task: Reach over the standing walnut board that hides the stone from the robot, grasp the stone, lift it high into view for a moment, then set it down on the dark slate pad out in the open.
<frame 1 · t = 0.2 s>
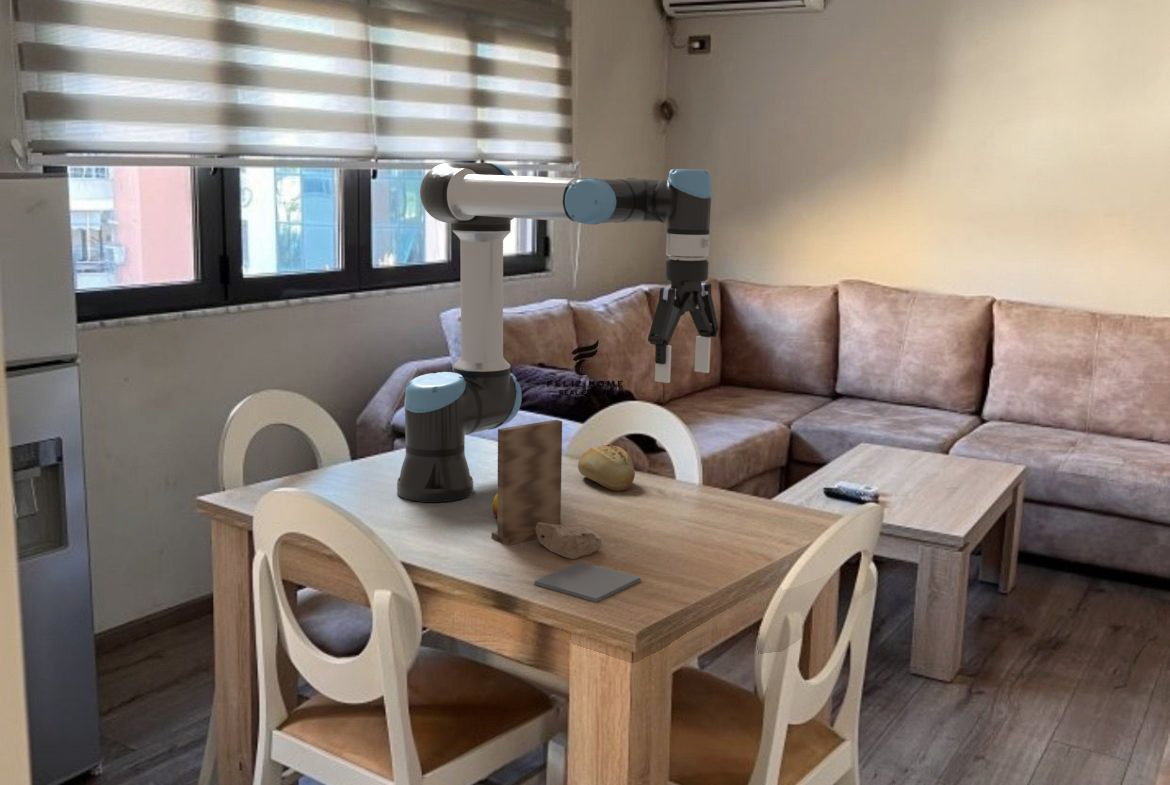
hand: (682, 376, 211), 28 cm above the table, fingers open, 13 cm apart
board: (529, 534, 209), on the table
fruit: (521, 519, 219), on the table
pad: (587, 582, 186), on the table
stone: (565, 553, 201), on the table
bread roll: (606, 484, 244), on the table
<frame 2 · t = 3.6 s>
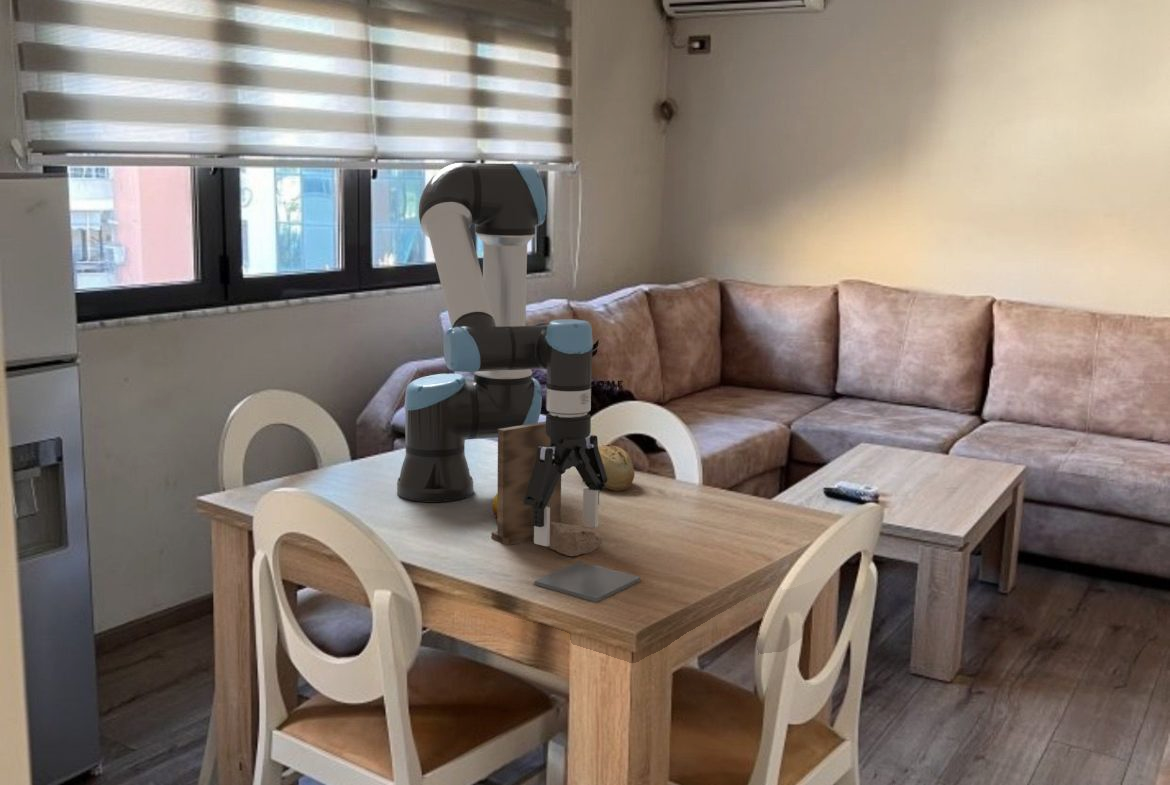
hand: (566, 535, 200), 3 cm above the table, fingers open, 13 cm apart
stone: (566, 551, 202), on the table, touching gripper
everything else where it was.
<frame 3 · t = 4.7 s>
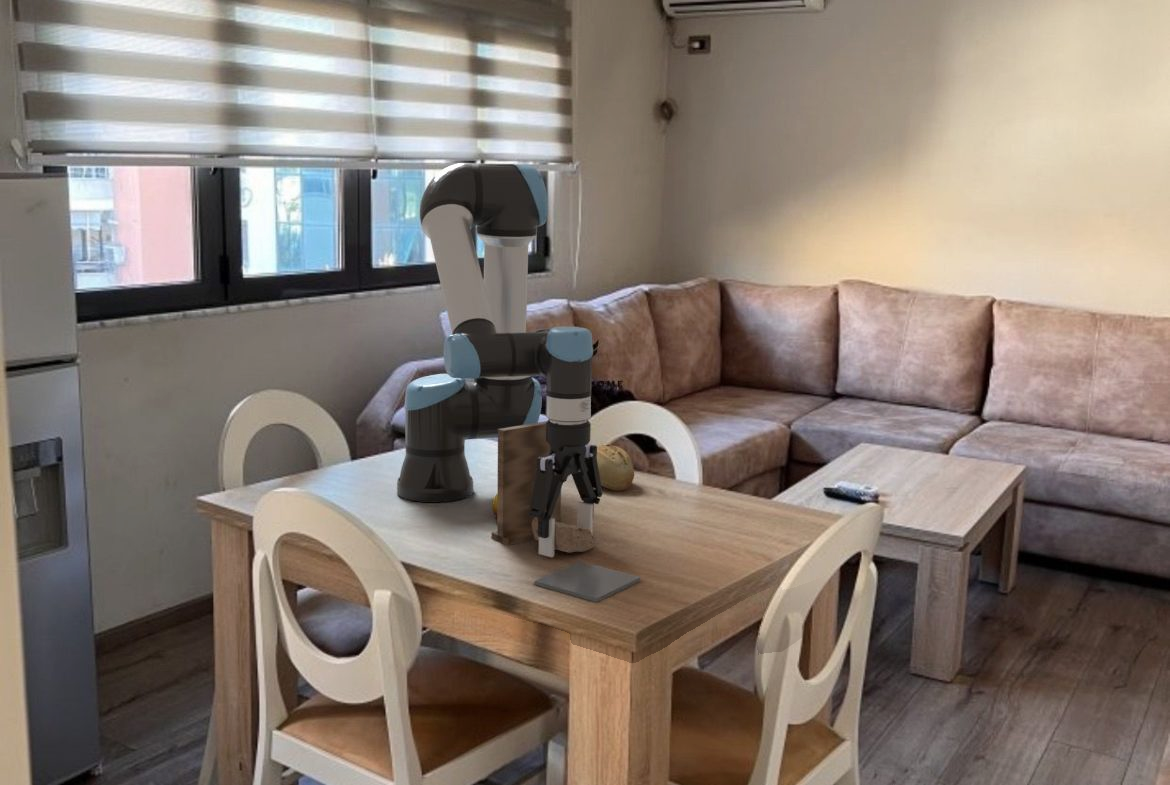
hand: (565, 547, 201), 1 cm above the table, fingers closed on stone, 10 cm apart
stone: (560, 549, 200), on the table, touching gripper
everything else where it was.
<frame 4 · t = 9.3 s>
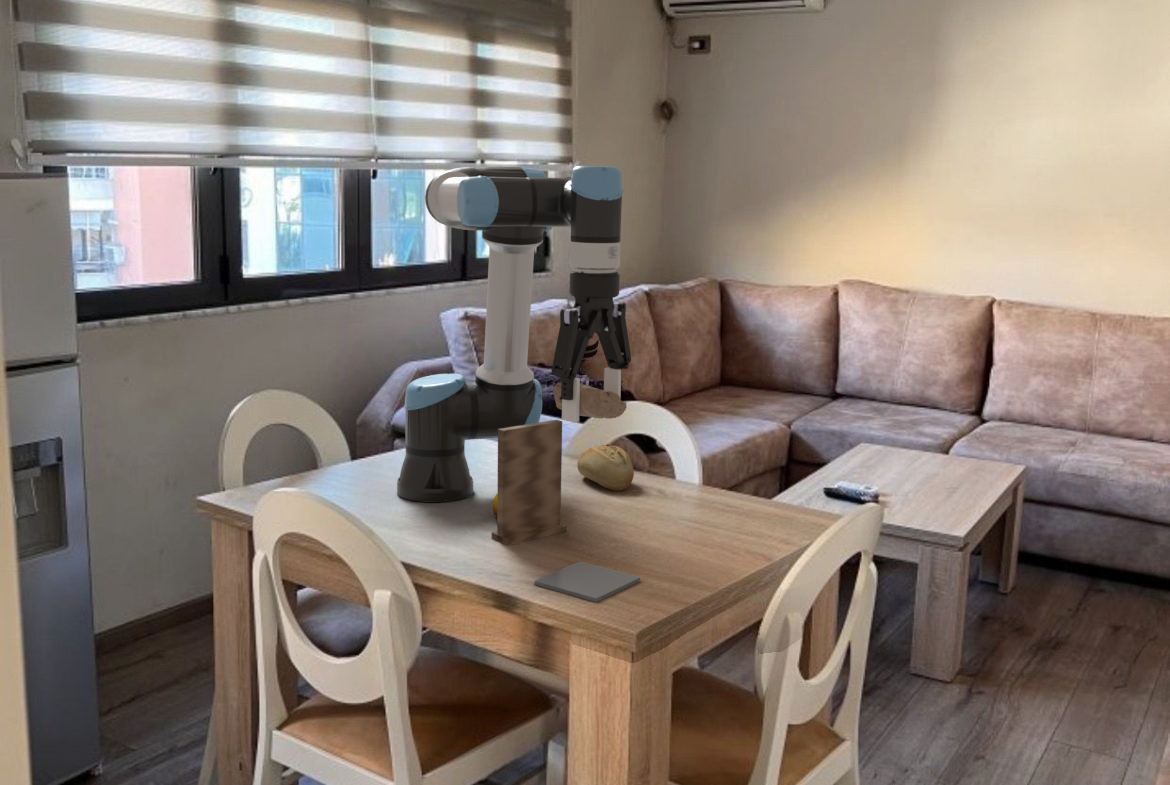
hand: (591, 414, 181), 27 cm above the table, fingers closed on stone, 10 cm apart
stone: (585, 417, 180), point 27 cm above the table, touching gripper
everything else where it was.
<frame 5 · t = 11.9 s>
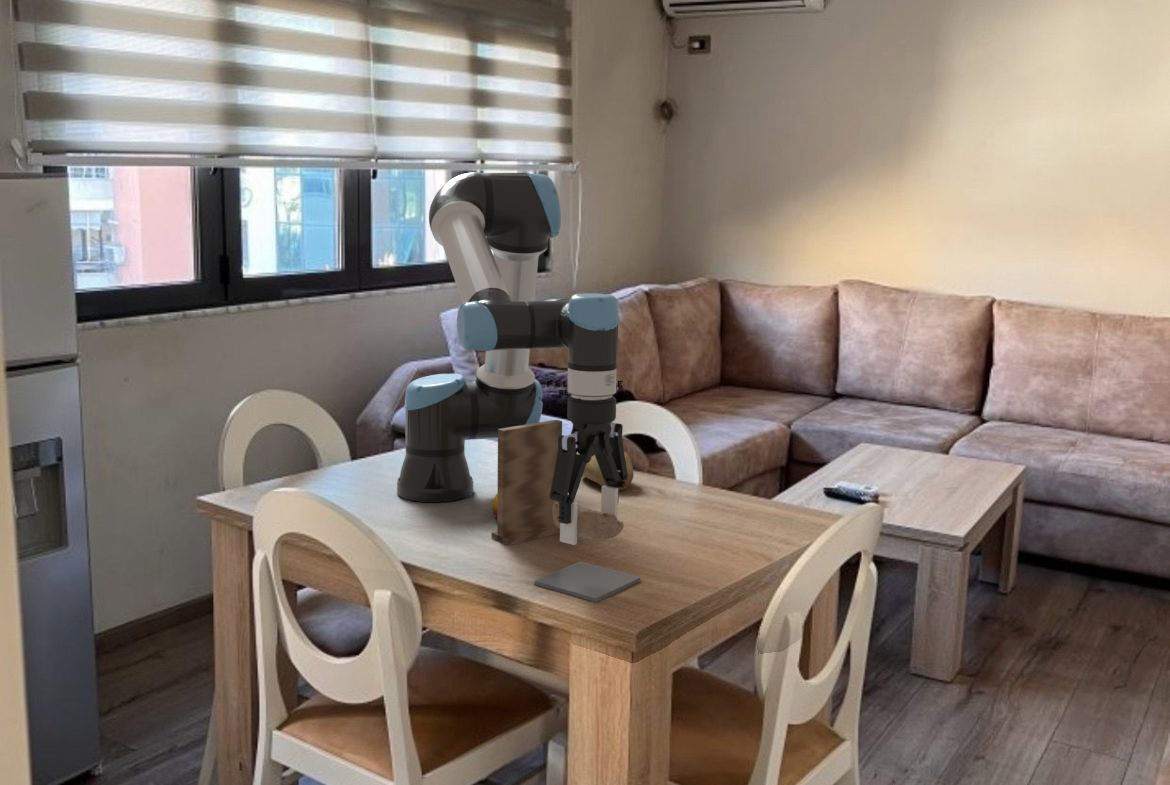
hand: (589, 534, 184), 8 cm above the table, fingers closed on stone, 10 cm apart
stone: (583, 537, 184), point 8 cm above the table, touching gripper
everything else where it was.
when the fingers open (3 cm above the table, at t = 13.9 s): stone drops 2 cm, resting on pad.
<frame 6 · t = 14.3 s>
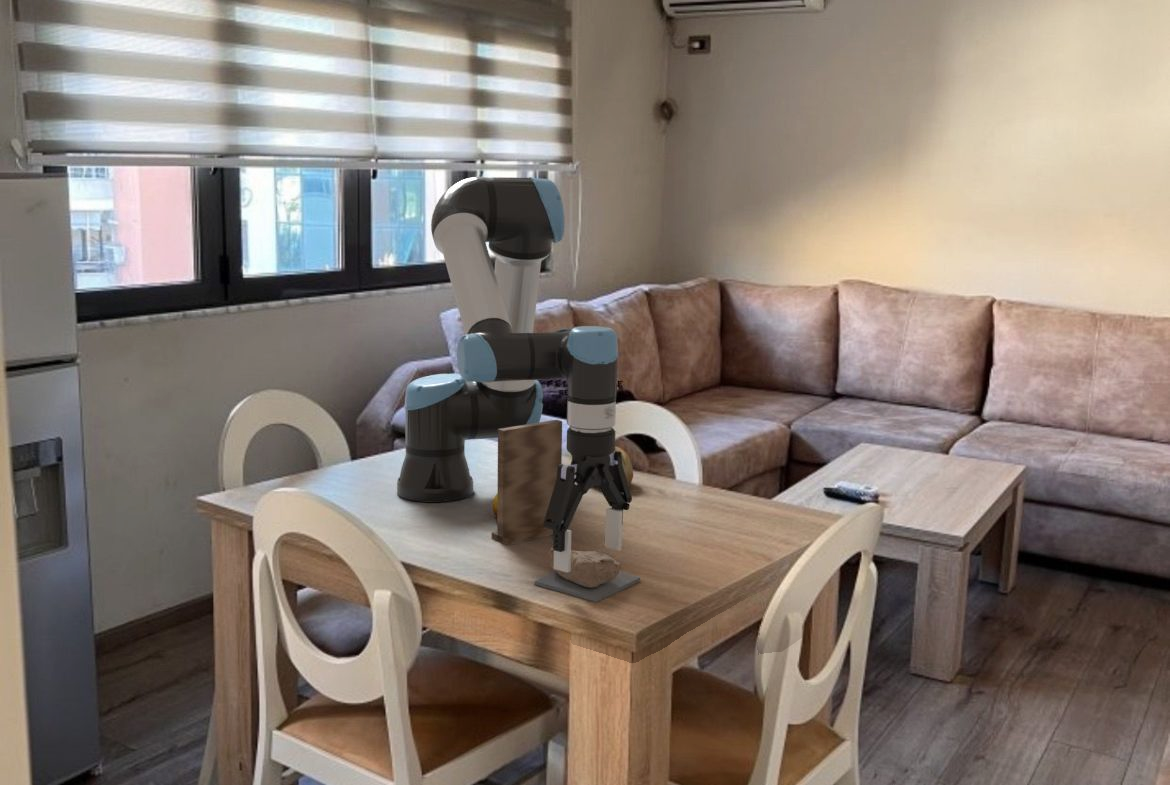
hand: (588, 559, 185), 4 cm above the table, fingers open, 13 cm apart
stone: (582, 581, 185), resting on pad
everything else where it was.
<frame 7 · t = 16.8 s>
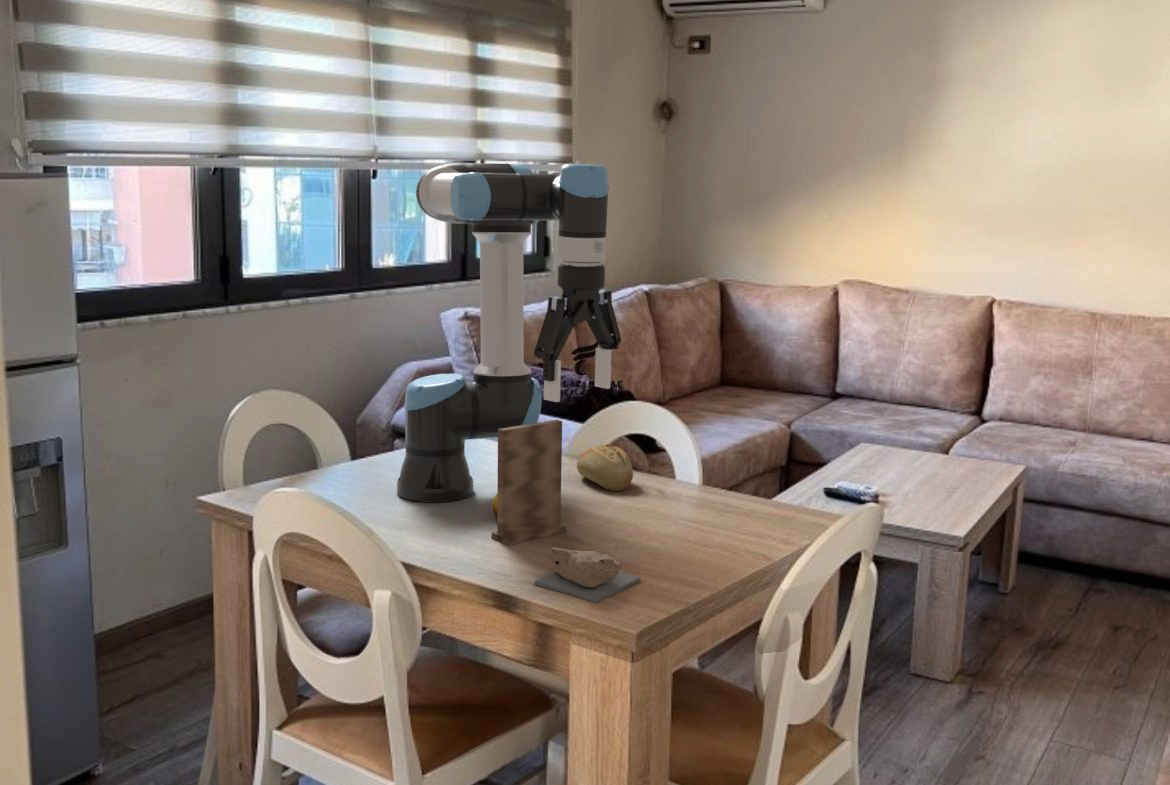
hand: (577, 393, 191), 28 cm above the table, fingers open, 13 cm apart
nothing on the table moved.
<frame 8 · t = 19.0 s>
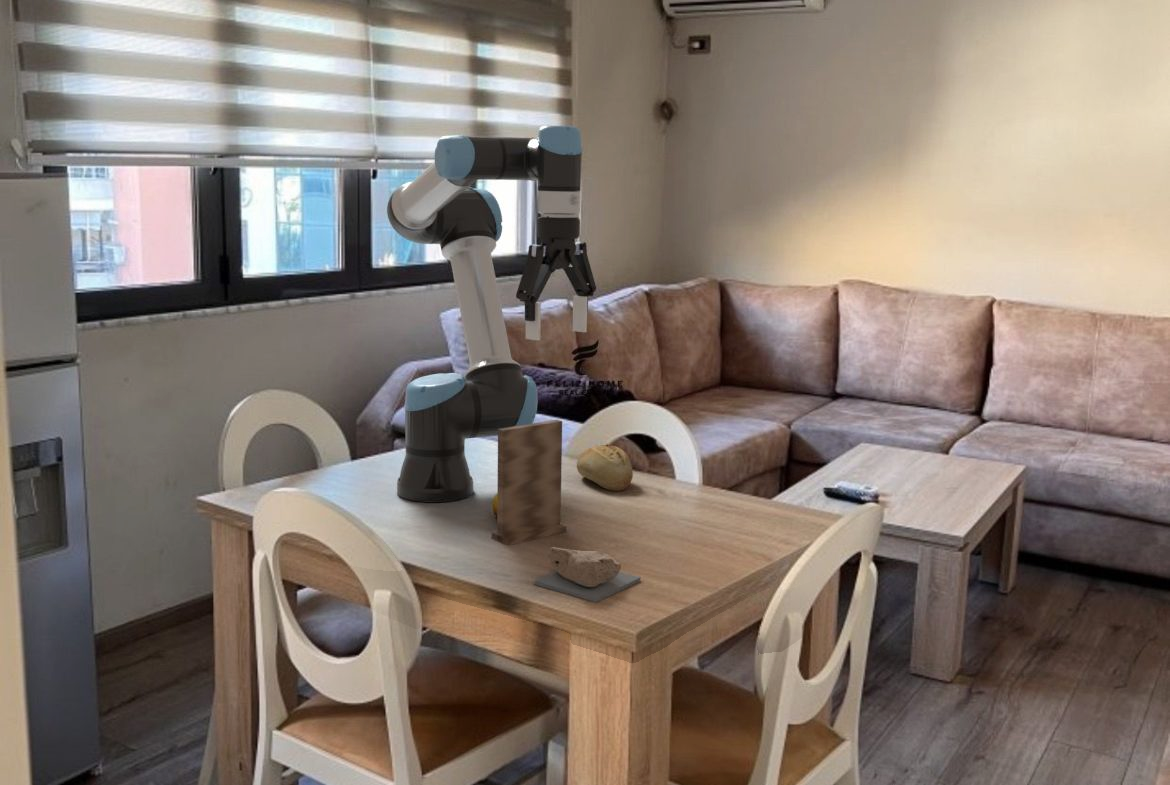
hand: (556, 335, 211), 35 cm above the table, fingers open, 13 cm apart
nothing on the table moved.
at the end: stone 0.9 cm from the pad (horizontally); stone touching pad; the gripper is holding nothing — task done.
